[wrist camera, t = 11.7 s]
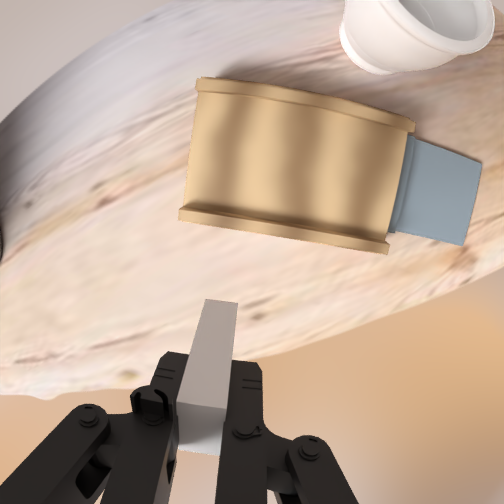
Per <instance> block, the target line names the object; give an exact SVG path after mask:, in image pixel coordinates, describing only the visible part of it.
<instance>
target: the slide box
mask: <svg viewBox="0 0 504 504" xmlns="http://www.w3.org/2000/svg"><path fill="white" fill-rule="evenodd" d="M195 89H196V90H197V91H198V98H197V104H196V110H195V117H194V124H193V130H192V137H191V145H190V152H189V160H188V168H187V176H186V185H185V193H184V203H183V207H182V208H180V209H179V215H178V220H181V221H182V222H188V223H195V224H201V225H208V226H214V227H221V228H227V229H234V230H240V231H246V232H253V233H259V234H265V235H271V236H277V237H283V238H289V239H295V240H301V241H307V242H313V243H319V244H325V245H331V246H336V247H342V248H348V249H354V250H359V251H365V252H371V253H376V254H386V255H387V254H388V251H389V247H390V244H388V243H387V242H386V241H385V238H386V234H387V230H388V227H389V223H390V218H391V214H392V210H393V206H394V201H395V197H396V192H397V188H398V183H399V178H400V173H401V168H402V163H403V158H404V152H405V146H406V140H407V134H408V133H410V132H414V131H415V124H416V122H414V121H411V120H410V118H408V117H405V116H402V115H399V114H396V113H392V112H389V111H386V110H383V109H379V108H376V107H372V106H369V105H365V104H361V103H358V102H354V101H350V100H346V99H342V98H338V97H334V96H329V95H325V94H320V93H315V92H311V91H306V90H300V89H295V88H289V87H284V86H278V85H271V84H265V83H258V82H250V81H242V80H233V79H224V78H212V77H201V79H198V78H197V80H196V86H195Z"/></svg>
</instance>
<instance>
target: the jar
mask: <svg viewBox="0 0 504 504" xmlns="http://www.w3.org/2000/svg"><path fill="white" fill-rule="evenodd" d="M494 28H495V17H494V11H493V7H492V3H491V1H490V0H346V2H345V9H344V15H343V20H342V22H341V24H340V29H339V36H340V41H341V44H342V47H343V49H344V51H345V52H346V54H347V55H348V57H349V58H350V59H351V60H352V61H353V62H354V63H355V64H356V65H358V66H359V67H360V68H362V69H364V70H365V71H368V72H370V73H373V74H377V75H391V74H395V73H397V72H409V71H421V70H427V69H432V68H435V67H438V66H441V65H443V64H445V63H447V62H449V61H451V60H453V59H454V58H456V57H457V56H459V55H467V54H472V53H475V52H477V51H479V50H481V49H482V48H484V47H485V46H486V45H487V44H488V43H489V42H490V40H491V38H492V36H493V33H494Z"/></svg>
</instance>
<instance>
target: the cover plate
mask: <svg viewBox="0 0 504 504" xmlns="http://www.w3.org/2000/svg"><path fill="white" fill-rule="evenodd" d="M481 168H482V164H481V163H478V162H476V161H473V160H471V159H469V158H466V157H464V156H461V155H459V154H456V153H453V152H451V151H448V150H446V149H443V148H440V147H437V146H435V145H432V144H429V143H426V142H423V141H420V140H417V139H415V137H414V136H411V135H408V134H407V140H406V146H405V152H404V158H403V163H402V168H401V173H400V178H399V183H398V188H397V192H396V197H395V201H394V206H393V210H392V214H391V218H390V223H389V227H388V230H387V232H390V233H395V231H399V232H403V233H408V234H412V235H417V236H421V237H426V238H430V239H435V240H439V241H443V242H447V243H452V244H456V245H460V246H463V243H464V240H465V236H466V233H467V229H468V225H469V222H470V218H471V214H472V210H473V206H474V202H475V197H476V193H477V188H478V183H479V178H480V173H481Z"/></svg>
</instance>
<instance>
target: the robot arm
mask: <svg viewBox="0 0 504 504" xmlns="http://www.w3.org/2000/svg"><path fill="white" fill-rule="evenodd" d="M1 253H2V237H1V230H0V259H1ZM237 307H238V303H233V302H225V301H218V300H210V299H206V300H205V303H204V307H203V310H202V313H201V317H200V320H199V323H198V327H197V330H196V334H195V337H194V340H193V344H192V347H191V351H190V354H189V355H188V354H181V353H175V352H169V351H168V352H167V353H166V354H165V355H163V356H162V357H161V358H160V360H159V362H158V365H157V368H156V370H155V373H154V376H153V378H152V380H151V383H150V385H147V386H142V387H139V388H137V389H136V390H134V391H133V392H132V394H131V395H130V400H131V405H132V411H133V412H131V413H127V414H107V413H106V412H105V410H104V409H103V408H101V407H100V406H97V405H94V404H83V405H79V406H78V407H76V408H75V409H73V410H72V411H71V412H70V413H69V414H68V415H67V416H66V417H65V418H64V419H63V420H62V421H61V422H60V423H59V425H57V427H56V428H55V429H54V430H53V431H52V432H51V433H50V434H49V435H48V436H47V437H46V438H45V439H44V440H43V441H42V442H41V443H40V444H39V445H38V446H37V447H36V449H34V450H33V452H32V453H31V454H30V455H29V456H28V457H27V458H26V459H25V460H24V461H23V462H22V463H21V464H20V465H19V466H18V467H17V468H16V470H15V471H14V472H13V473H12V474H11V475H10V476H9V477H8V478H7V479H6V480H5V481H4V482H3V484H2V485H1V486H0V504H94V503H95V502H96V500H97V499H98V497H99V496H100V495H101V493H102V492H103V491H104V493H103V496H102V499H101V502H100V504H168V502H169V497H170V492H171V487H172V482H173V477H174V472H175V468H176V463H177V461H176V453H177V448H178V447H179V450H184V451H190V452H197V453H204V454H211V455H219V456H220V459H219V468H218V476H217V486H216V496H215V504H267V489H268V490H271V491H274V494H275V497H276V500H277V503H278V504H359V503H358V502H357V500H356V498H355V496H354V494H353V492H352V490H351V488H350V486H349V484H348V482H347V480H346V479H345V476H344V474H343V472H342V471H341V469H340V467H339V465H338V463H337V461H336V459H335V457H334V455H333V453H332V451H331V449H330V447H329V446H328V445H327V443H326V442H325V441H324V440H322V439H320V438H319V437H315V436H311V435H304V436H300V437H297V438H295V439H294V440H293V441H292V440H289V439H286V438H282V437H280V436H277V435H275V434H273V433H272V432H271V431H269V430H268V428H267V427H266V426H265V424H264V421H263V391H262V370H261V369H260V367H259V365H258V364H257V363H256V362H247V361H238V360H232V353H233V344H234V334H235V325H236V316H237ZM104 489H105V490H104Z"/></svg>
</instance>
